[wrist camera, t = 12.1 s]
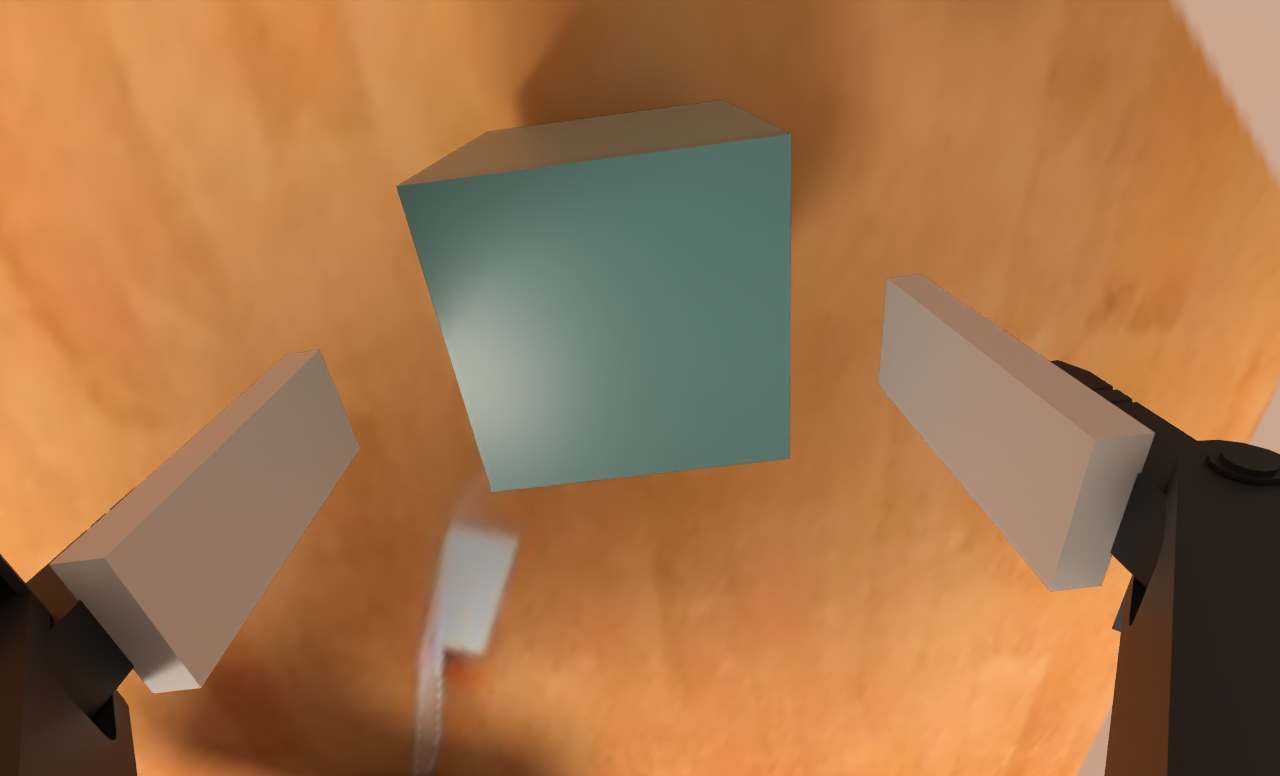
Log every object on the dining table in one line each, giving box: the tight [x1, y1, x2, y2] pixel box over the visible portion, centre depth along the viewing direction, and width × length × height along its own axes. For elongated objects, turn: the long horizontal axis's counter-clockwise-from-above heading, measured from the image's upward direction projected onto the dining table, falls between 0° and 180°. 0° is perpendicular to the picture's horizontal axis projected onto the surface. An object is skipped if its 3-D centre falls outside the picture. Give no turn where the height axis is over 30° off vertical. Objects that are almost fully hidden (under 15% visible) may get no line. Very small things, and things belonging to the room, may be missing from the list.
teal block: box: [396, 100, 791, 492], centre depth 18 cm, size 8×8×10 cm
